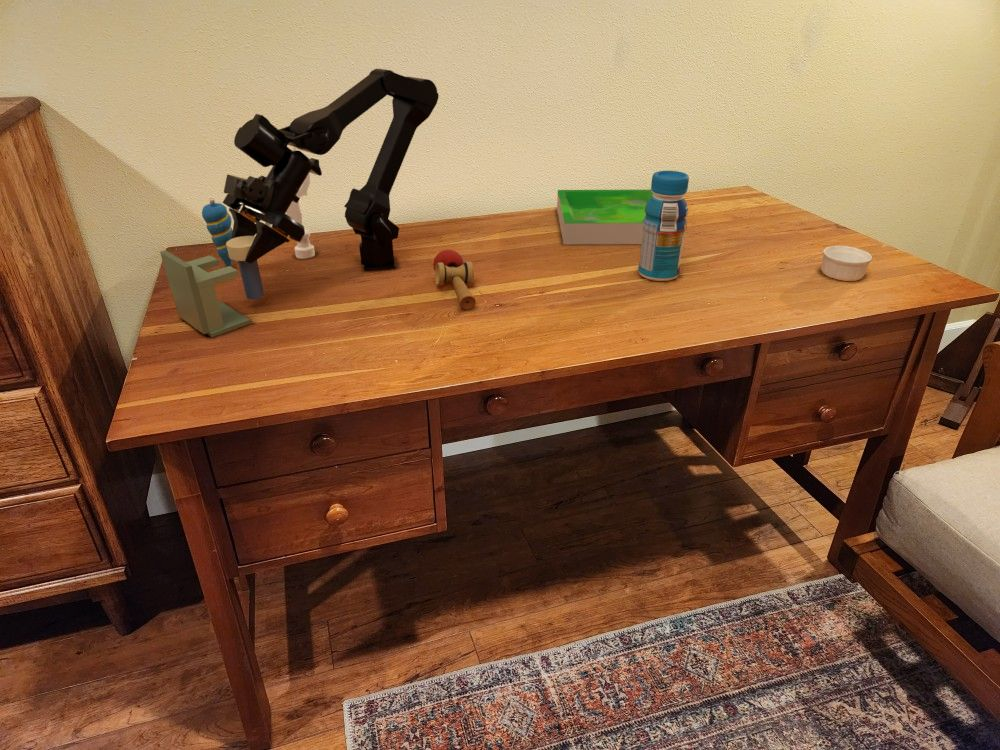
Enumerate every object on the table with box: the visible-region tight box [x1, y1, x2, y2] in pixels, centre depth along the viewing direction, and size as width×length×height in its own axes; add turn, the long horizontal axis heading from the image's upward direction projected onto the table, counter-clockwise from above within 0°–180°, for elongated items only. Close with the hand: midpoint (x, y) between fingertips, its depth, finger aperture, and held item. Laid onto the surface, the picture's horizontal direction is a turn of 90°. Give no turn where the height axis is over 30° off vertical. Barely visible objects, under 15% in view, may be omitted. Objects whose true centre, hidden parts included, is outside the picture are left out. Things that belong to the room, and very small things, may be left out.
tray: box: [556, 189, 654, 245], centre depth 160 cm, size 25×25×5 cm
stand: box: [159, 250, 252, 338], centre depth 116 cm, size 8×11×13 cm
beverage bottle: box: [637, 170, 690, 282], centre depth 130 cm, size 8×8×20 cm
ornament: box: [201, 198, 233, 267], centre depth 136 cm, size 5×5×15 cm
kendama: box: [432, 249, 476, 311], centre depth 128 cm, size 8×6×18 cm
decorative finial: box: [285, 146, 316, 260], centre depth 140 cm, size 6×4×25 cm
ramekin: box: [820, 245, 873, 282], centre depth 134 cm, size 9×9×4 cm
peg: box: [226, 235, 265, 300], centre depth 120 cm, size 6×6×10 cm
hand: (239, 257), depth 118 cm, fingers closed on peg, 6 cm apart
